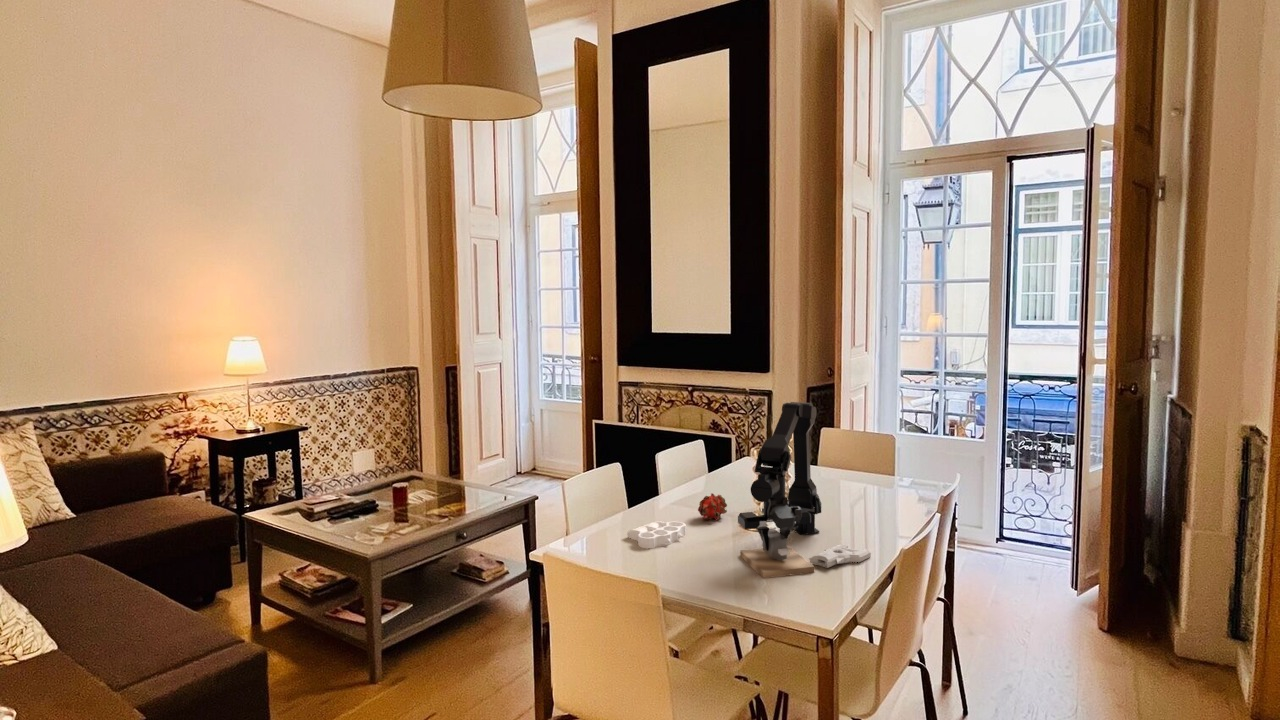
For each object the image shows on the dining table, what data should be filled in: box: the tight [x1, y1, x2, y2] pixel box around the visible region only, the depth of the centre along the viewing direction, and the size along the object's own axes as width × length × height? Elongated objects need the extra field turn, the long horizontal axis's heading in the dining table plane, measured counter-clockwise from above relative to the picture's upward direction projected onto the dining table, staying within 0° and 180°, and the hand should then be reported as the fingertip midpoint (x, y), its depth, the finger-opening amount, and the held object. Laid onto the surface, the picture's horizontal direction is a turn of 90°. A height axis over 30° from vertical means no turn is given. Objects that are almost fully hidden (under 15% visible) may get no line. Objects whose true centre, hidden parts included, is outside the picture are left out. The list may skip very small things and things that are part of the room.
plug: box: [762, 528, 790, 560], centre depth 186 cm, size 14×4×5 cm, turn 13°
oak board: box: [739, 545, 815, 579], centre depth 186 cm, size 16×14×2 cm
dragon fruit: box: [697, 493, 728, 521], centre depth 225 cm, size 8×8×12 cm
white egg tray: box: [626, 520, 687, 549], centre depth 207 cm, size 3×18×15 cm
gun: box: [808, 544, 872, 569], centre depth 187 cm, size 18×4×10 cm
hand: (774, 549), depth 186 cm, fingers closed on plug, 4 cm apart
